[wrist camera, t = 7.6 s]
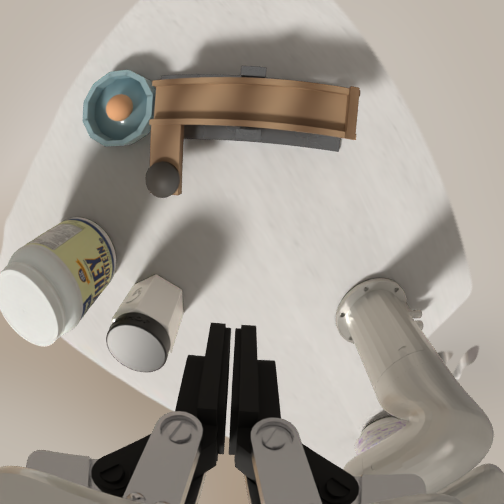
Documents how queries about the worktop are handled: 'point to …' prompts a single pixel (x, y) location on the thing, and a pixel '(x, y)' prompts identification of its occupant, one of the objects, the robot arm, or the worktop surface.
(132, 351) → the jar
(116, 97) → the ball
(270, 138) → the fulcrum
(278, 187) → the worktop surface
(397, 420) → the paper bowls
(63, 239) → the supplement tub
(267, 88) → the lever
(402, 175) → the worktop surface
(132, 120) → the dish
